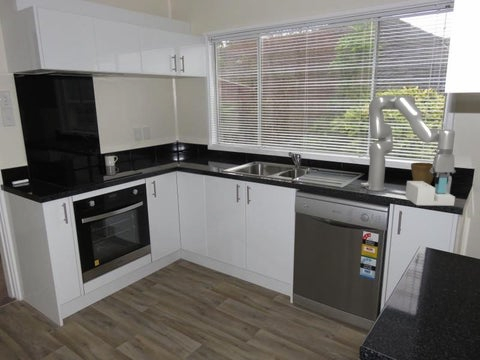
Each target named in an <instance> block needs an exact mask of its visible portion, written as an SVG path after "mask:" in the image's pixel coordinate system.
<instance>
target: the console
mask: <svg viewBox="0 0 480 360" xmlns="http://www.w3.org/2000/svg"><path fill="white" fill-rule="evenodd" d="M405 198H406V199H408V200H409V201H410V202H411V203H413V204H414V205H416V206H455V201H456V200H455V199H456V196H454V195H453V194H451V193H447V192H445V193H437V192H435V186H432V185H431V184H430V185H429V184H427V183H425V182H423V181H413V180H406V189H405Z"/></svg>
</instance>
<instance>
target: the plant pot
mask: <svg viewBox="0 0 480 360" xmlns="http://www.w3.org/2000/svg"><path fill="white" fill-rule="evenodd" d="M432 166H433V162H432V163H431V162H412V163H411V164H410V168H411V169H410V171H411V175H412V177H411V178H412V181H423V182H425V183H427V184H429V185H431V183H432V182H433V180H434V178H435V176H434V175H433V174H432V173H431V172H429V171H430V169H431V168H432ZM433 172H435V171H433Z"/></svg>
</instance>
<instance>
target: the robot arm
mask: <svg viewBox="0 0 480 360" xmlns="http://www.w3.org/2000/svg"><path fill="white" fill-rule="evenodd" d="M390 109H391V110H392V109H393V110H397V111H399V112H400V114H401V115H402V116H403V117H404V118H405V120H407V121H408V123H409V126H410V128H411V130H412V132H413V133H414V134H415V135H416V137H417V138H418V139H419V140H420V141H422V142H423V143H427V144H429V143H432V142H437V148H436V150H434V153H436V154H434V157H433V161H432V164H433V166H432V168H431V169H430V171H429V172H431V173H432V174H433V175H434V181H433V182H434V184H439V173H440V172H445V173H446V174H448V176H447V182H448V178H449V177H450V176H452V175H453V174H454V173H456V172H457V171H456V169H455V155H454V154H453V151H454V150H453V149H454V144H455V143H454V142H455V135H456V131H455V130H454V129H446V128H445V129H442V128H441V129H440V128H437V127H436V128H433V127H432V128H429V127H428V125H426V123H425V122H424V120H423V112H422V110H420V108H419V107H418V106H417V105H416V99H415V98H414V96H412V95H409V94H408V95H407V94H405V95H404V94H403V95H399V94H398V95H397V94H396V95H395V94H391V95H390V94H383V95H378V96H376V97H373V99H372V100H371V101H370V103H369V105H368V115H369V116H368V117H369V131H370V132H369V133H370V136H371V137H372V138H373V139H374V140H376V141H374V142H372V143H371V144H370V145H369V148H368V149H369V150H368V151H369V152H368V153H369V168H368V180H367V181H366V182H360V186H362V187H365V189H366V190H368V191H372V192H383V191H386V189H387V188H386V186H384V185H385V184H384V183H385V171H386V157H385V155H388V154H390V153H391V152H392V150H393V148H394V142H393V141H394V140H393V129H392V127H391V125H390V124H388V123H385V117H384V116H385V115H384V113H383V110H390ZM433 171H435V172H433Z"/></svg>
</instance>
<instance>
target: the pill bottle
mask: <svg viewBox="0 0 480 360" xmlns="http://www.w3.org/2000/svg"><path fill="white" fill-rule="evenodd" d="M440 173H445V172H440ZM452 178H453V177H452V175H450V177H449V178H448V182H447V184H446V192H447V193H449V194H451V186H452V180H453V179H452Z"/></svg>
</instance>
